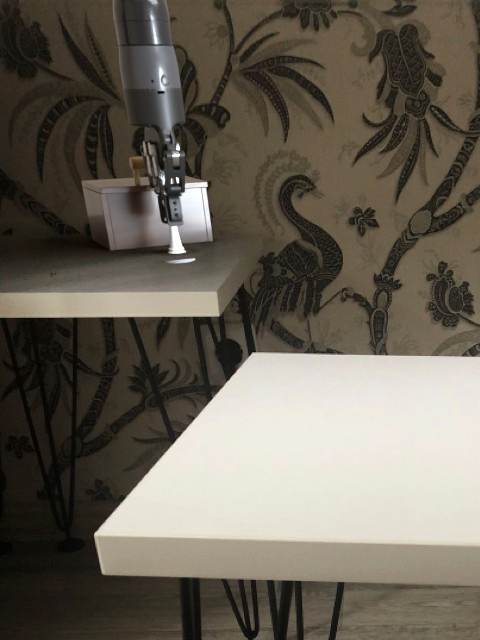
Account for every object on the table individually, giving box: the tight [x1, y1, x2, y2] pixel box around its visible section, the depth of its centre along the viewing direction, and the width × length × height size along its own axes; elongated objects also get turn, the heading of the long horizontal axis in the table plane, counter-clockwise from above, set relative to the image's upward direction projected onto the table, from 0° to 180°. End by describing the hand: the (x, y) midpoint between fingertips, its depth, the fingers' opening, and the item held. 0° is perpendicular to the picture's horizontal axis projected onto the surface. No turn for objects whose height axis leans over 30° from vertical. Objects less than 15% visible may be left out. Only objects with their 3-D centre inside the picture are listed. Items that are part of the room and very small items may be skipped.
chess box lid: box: [81, 156, 209, 194], centre depth 137 cm, size 12×16×4 cm
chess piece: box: [161, 201, 196, 264], centre depth 131 cm, size 5×5×10 cm
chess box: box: [82, 186, 214, 251], centre depth 140 cm, size 12×16×9 cm
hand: (172, 223), depth 131 cm, fingers closed
